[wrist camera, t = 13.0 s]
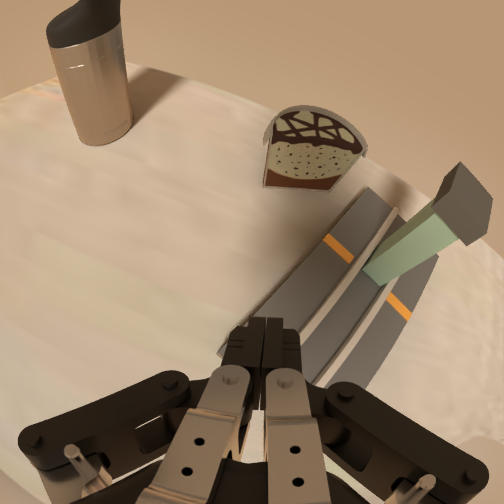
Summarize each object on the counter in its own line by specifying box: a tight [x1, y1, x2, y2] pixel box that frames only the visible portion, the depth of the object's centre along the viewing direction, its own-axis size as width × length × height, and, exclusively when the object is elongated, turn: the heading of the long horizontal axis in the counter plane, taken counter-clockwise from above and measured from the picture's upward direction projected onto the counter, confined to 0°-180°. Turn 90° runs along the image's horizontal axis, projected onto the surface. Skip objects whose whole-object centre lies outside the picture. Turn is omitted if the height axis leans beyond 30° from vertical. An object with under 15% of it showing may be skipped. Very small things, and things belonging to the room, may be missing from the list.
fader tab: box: [362, 162, 493, 286], centre depth 24 cm, size 4×5×16 cm
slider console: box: [217, 187, 439, 393], centre depth 31 cm, size 14×28×4 cm, turn 138°
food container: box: [263, 105, 368, 192], centre depth 34 cm, size 12×6×10 cm, turn 94°
